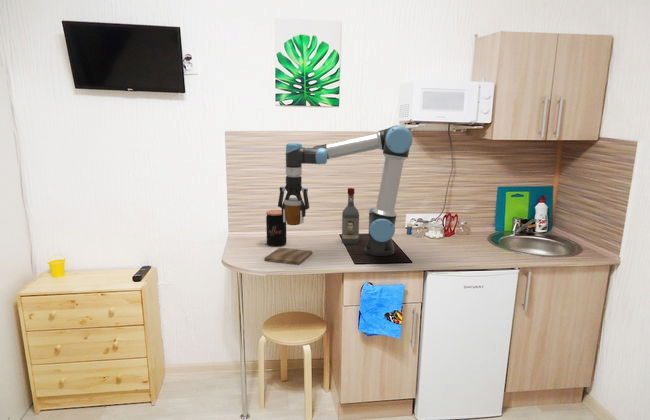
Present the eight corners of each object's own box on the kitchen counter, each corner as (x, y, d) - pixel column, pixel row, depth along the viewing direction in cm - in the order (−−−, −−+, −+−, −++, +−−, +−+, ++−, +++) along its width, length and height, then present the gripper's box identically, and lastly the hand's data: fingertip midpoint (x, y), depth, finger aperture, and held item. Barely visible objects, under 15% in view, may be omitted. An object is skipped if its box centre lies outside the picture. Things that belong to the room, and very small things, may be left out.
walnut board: (312, 253, 222) (312, 250, 222) (299, 265, 206) (299, 261, 205) (279, 250, 228) (279, 247, 227) (264, 261, 211) (264, 258, 211)
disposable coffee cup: (300, 226, 207) (300, 202, 204) (281, 225, 209) (281, 200, 206) (305, 222, 216) (305, 198, 214) (286, 220, 218) (286, 197, 215)
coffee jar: (262, 245, 237) (262, 212, 233) (274, 240, 246) (273, 208, 242) (279, 247, 232) (278, 214, 228) (290, 242, 241) (289, 210, 237)
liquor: (342, 239, 248) (342, 187, 242) (358, 239, 248) (359, 187, 241) (341, 243, 239) (342, 189, 233) (358, 244, 239) (359, 190, 232)
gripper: (270, 175, 207) (270, 222, 212) (311, 178, 201) (311, 226, 206) (276, 173, 214) (276, 218, 219) (317, 176, 208) (316, 222, 213)
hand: (293, 222), depth 212 cm, fingers closed on disposable coffee cup, 8 cm apart
